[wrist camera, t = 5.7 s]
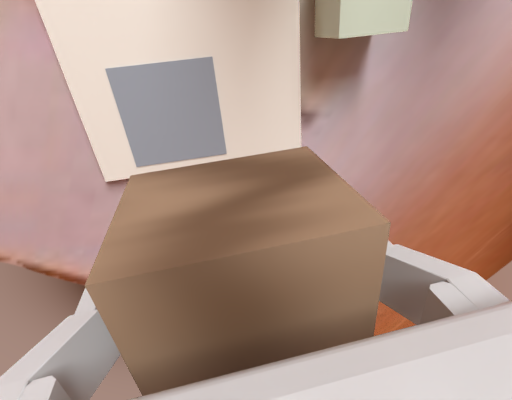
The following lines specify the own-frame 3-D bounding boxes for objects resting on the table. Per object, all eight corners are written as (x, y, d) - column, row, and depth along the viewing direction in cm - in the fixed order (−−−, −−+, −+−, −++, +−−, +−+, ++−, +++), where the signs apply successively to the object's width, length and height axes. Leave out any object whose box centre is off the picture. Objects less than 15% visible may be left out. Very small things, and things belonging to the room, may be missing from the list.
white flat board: (295, -31, 22) (299, -33, 21) (298, 149, 29) (301, 152, 28) (36, -8, 20) (30, -10, 19) (107, 178, 27) (105, 182, 26)
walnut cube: (306, 146, 10) (390, 222, 6) (308, 273, 13) (366, 385, 9) (130, 175, 10) (84, 286, 5) (173, 303, 13) (166, 441, 8)
